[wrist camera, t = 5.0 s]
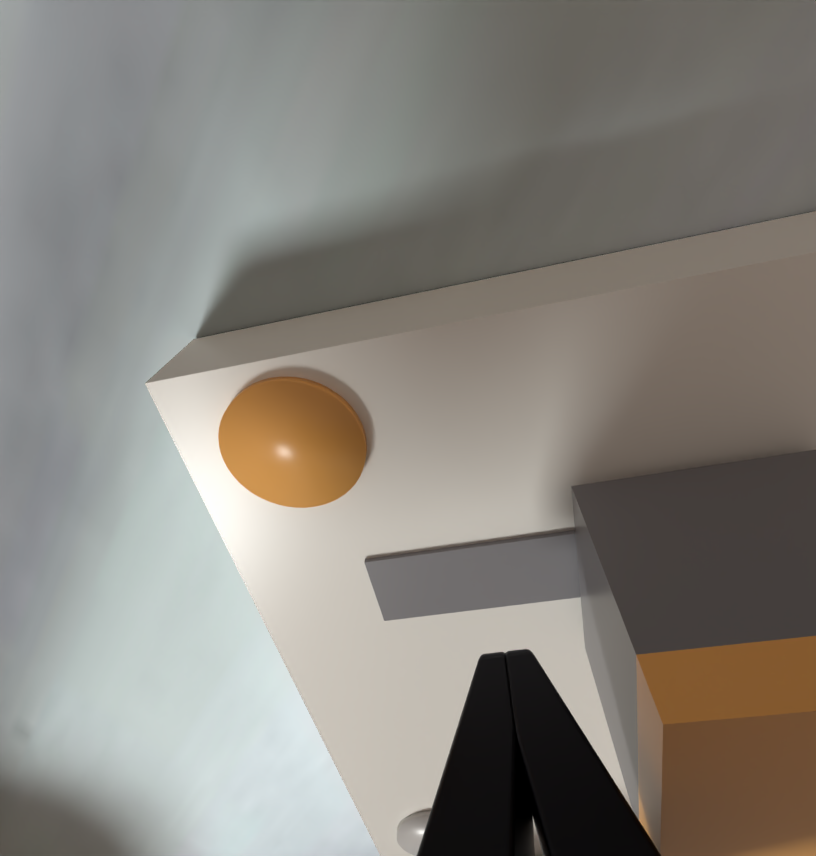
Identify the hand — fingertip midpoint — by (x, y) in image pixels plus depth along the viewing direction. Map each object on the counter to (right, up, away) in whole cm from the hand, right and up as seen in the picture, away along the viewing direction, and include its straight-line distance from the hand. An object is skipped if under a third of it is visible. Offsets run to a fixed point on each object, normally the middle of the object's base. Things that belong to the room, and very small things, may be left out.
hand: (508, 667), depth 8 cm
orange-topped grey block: (+3, +1, +1) cm, 4 cm away
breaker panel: (+4, -2, +6) cm, 7 cm away
